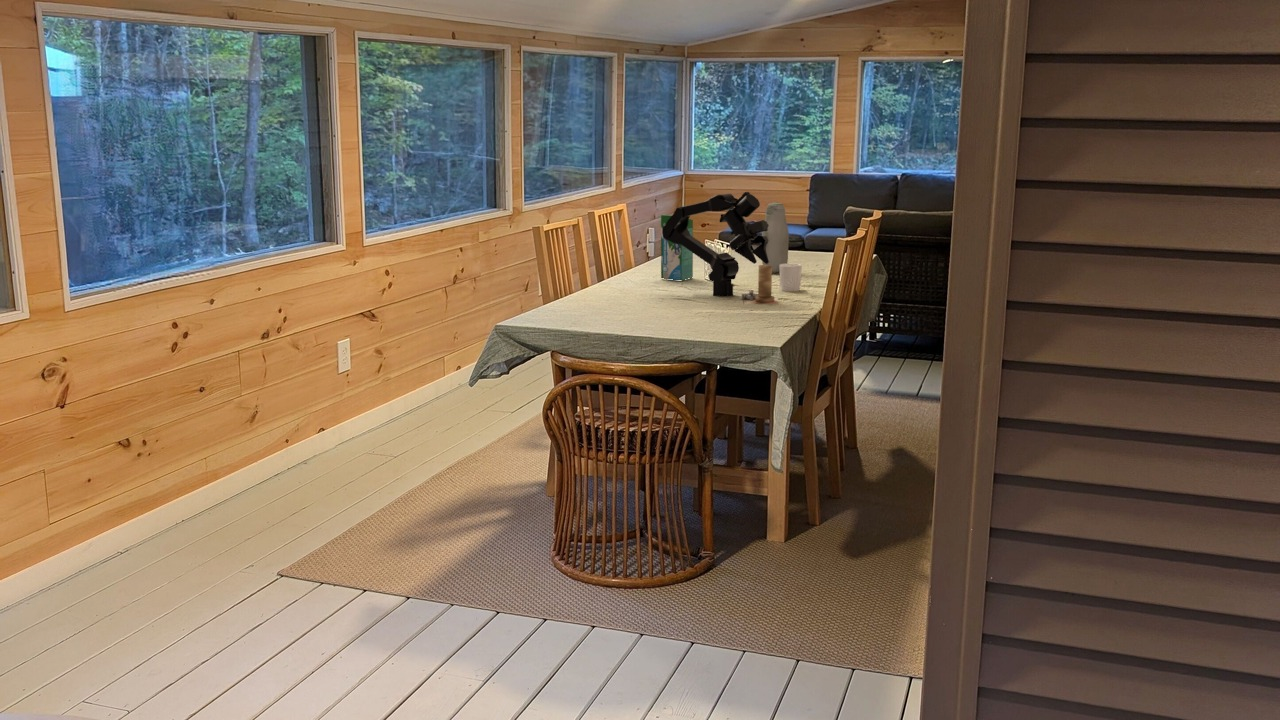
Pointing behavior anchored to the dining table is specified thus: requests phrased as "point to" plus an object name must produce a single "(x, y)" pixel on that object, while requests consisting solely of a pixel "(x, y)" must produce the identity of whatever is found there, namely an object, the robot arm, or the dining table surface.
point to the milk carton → (675, 256)
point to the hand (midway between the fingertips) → (761, 263)
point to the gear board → (760, 303)
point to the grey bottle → (776, 236)
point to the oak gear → (764, 284)
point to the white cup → (790, 277)
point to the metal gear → (749, 296)
